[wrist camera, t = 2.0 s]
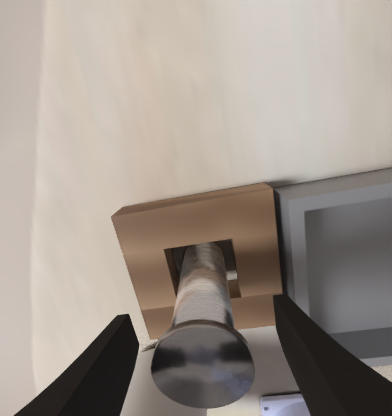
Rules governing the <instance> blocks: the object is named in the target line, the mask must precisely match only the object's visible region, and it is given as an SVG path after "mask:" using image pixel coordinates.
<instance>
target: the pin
mask: <svg viewBox="0 0 392 416" xmlns="http://www.w3.org/2000/svg"><path fill="white" fill-rule="evenodd" d="M151 374H152V378H153V381H154V383H155V384H156V386H157V388H158V389H159V390H160V391H161V392H162V393H163V394H164V395H165V396H167V397H168V398H169V399H171V400H173V401H175V402H177V403H179V404H182V405H185V406H188V407H193V408H202V409H209V408H218V407H222V406H225V405H228V404H231V403H233V402H235V401H237V400H238V399H240V398H241V397H242V396H244V395H245V394H246V393H247V391H248V390H249V389H250V387H251V385H252V383H253V380H254V375H255V369H254V364H253V359H252V354H251V350H250V347H249V345H248V343H247V341H246V340H245V338H244V337H243V336H242V335H241V334H240V333H239V332H238V331H237V330H235V326H234V320H233V313H232V307H231V300H230V294H229V287H228V281H227V274H226V268H225V261H224V255H223V252H222V250H221V248H220V247H219V246H218V245H217V244H215V243H213V242H206V243H200V244H193V245H190V246H189V247H188V248H187V249H186V251H185V254H184V260H183V265H182V271H181V276H180V282H179V287H178V293H177V298H176V303H175V309H174V314H173V320H172V325H171V328H169V329H168V330H167V331H165V332H164V333H163V334H162V335H161V337H160V338H159V340H158V341H157V344H156V346H155V350H154V354H153V358H152V362H151Z"/></svg>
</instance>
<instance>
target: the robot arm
mask: <svg viewBox="0 0 392 416" xmlns="http://www.w3.org/2000/svg"><path fill="white" fill-rule="evenodd" d="M273 304H274V313H275V322H276V330H277V333H278V336H279V340H280V343H281V346H282V349H283V352H284V354H285V357H286V359H287V361H288V364H289V366H290V368H291V371H292V373H293V375H294V378H295V380H296V382H297V385H298V387H299V389H300V392H301V394H291V395H279V396H267V397H262V398H261V399H260V406H261V413H262V416H392V382H391V381H389V380H387V379H386V378H385V377H383V376H382V375H380V374H379V373H377V372H376V371H375V370H373V369H372V368H370V367H369V366H368V365H366V364H365V363H364V362H362V361H361V360H360V359H358V358H357V357H355V356H354V355H353V354H352V353H350V352H349V351H348V350H347V349H345V348H344V347H343V346H342V345H340V344H339V343H338V342H337V341H336V340H334V339H333V338H332V337H331V336H330V335H329V334H327V333H326V332H325V331H324V330H323V329H322V328H321V327H320V326H318V325H317V324H316V323H315V322H314V321H313V320H312V319H311V318H310V317H309V316H308V315H307V314H306V313H305V312H304V311H303V310H302V309H301V308H300V307H299V306H298V305H297V304H296V303H295V302H294V301H293V300H292V299H291V298H290V297H289V296H288V295H287V294H278V295H273ZM138 350H139V342H138V339H137V336H136V333H135V330H134V328H133V325H132V322H131V319H130V316H129V314H123V315H117V316H116V317H115V318H114V319H113V320H112V321H111V322H110V324H109V325H108V326H107V327H106V328H105V329H104V330H103V331H102V332H101V333H100V334H99V336H98V337H97V338H96V339H95V340H94V341H93V342H92V343H91V344H90V345H89V346H88V347H87V349H86V350H85V351H84V352H83V353H82V354H81V355H80V356H79V357H78V358H77V359H76V360H75V361H74V362H73V363H72V364H71V365H70V366H69V367H68V368H67V369H66V370H65V371H64V372H63V373H62V374H61V375H60V376H59V377H58V378H57V379H56V380H55V381H54V382H52V383H51V384H50V385H49V386H48V387H47V388H46V389H45V390H44V391H42V392H41V393H40V394H39V395H38V396H37V397H36V398H35V399H33V400H32V401H31V402H30V403H29V404H27V405H26V406H25V407H24V408H22V409H21V410H20V411H19V412H18V413H16V414H15V415H14V416H120V414H121V411H122V408H123V404H124V401H125V398H126V395H127V392H128V389H129V385H130V382H131V379H132V376H133V372H134V369H135V365H136V360H137V355H138Z"/></svg>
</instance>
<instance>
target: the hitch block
mask: <svg viewBox="0 0 392 416" xmlns="http://www.w3.org/2000/svg"><path fill="white" fill-rule="evenodd" d="M111 218H112V222H113V225H114V228H115V231H116V234H117V237H118V240H119V243H120V247H121V250H122V253H123V256H124V259H125V262H126V265H127V268H128V272H129V275H130V278H131V281H132V284H133V287H134V290H135V293H136V297H137V300H138V303H139V306H140V309H141V312H142V315H143V318H144V322H145V325H146V328H147V331H148V334H149V337H150V340H152V339H159V338H160V337H161V335H162V334H163V333H164V332H165V331H167V330H168V329H169V328H171V325H172V320H173V314H174V309H175V303H176V298H177V293H178V287H179V282H180V281H179V277H178V273H177V269H176V265H175V261H174V257H173V253H172V249H171V248H174V247H180V246H187V245H193V244H200V243H206V242H213V241H219V240H226V239H231V241H232V247H233V253H234V260H235V266H236V272H237V279H238V280H232V281H228V287H229V294H230V300H231V307H232V313H233V320H234V326H235V330H239V329H247V328H256V327H265V326H274V325H276V322H275V313H274V304H273V295H278V294H282V283H281V272H280V261H279V251H278V240H277V229H276V218H275V207H274V196H273V189H272V188H271V187H270V186H268V185H267V184H266V183H264V182H263V183H258V184H252V185H246V186H241V187H235V188H229V189H224V190H218V191H212V192H207V193H201V194H195V195H190V196H184V197H178V198H172V199H167V200H161V201H155V202H150V203H144V204H138V205H133V206H127V207H122V208H121V209H120V210H119V211H117V212H116V213H115V214H114V215H112V216H111Z"/></svg>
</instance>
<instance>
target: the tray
mask: <svg viewBox="0 0 392 416" xmlns="http://www.w3.org/2000/svg"><path fill="white" fill-rule="evenodd" d="M272 189H273V196H274V207H275V218H276V229H277V240H278V251H279V261H280V272H281V283H282V294H287V295H288V296H289V297H290V298H291V299H292V300H293V301H294V302H295V303H296V304H297V305H298V306H299V307H300V308H301V309H302V310H303V311H304V312H305V313H306V314H307V315H308V316H309V317H310V318H311V319H312V320H313V321H314V322H315V323H316V324H317V325H318V326H320V327H321V328H322V329H323V330H324V331H325V332H326V333H327V334H329V335H330V336H331V337H332V338H333V339H334V340H336V341H337V342H338V343H339V344H340V345H342V346H343V347H344V348H345V349H347V350H348V351H349V352H350V353H352V354H353V355H354V356H355V357H357V358H358V359H360V360H361V361H362V362H364V363H365V364H366V365H368V366H369V367H374V366H385V365H392V168H386V169H381V170H375V171H369V172H363V173H358V174H352V175H346V176H340V177H334V178H329V179H323V180H317V181H311V182H306V183H300V184H294V185H288V186H282V187H277V188H272Z"/></svg>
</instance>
